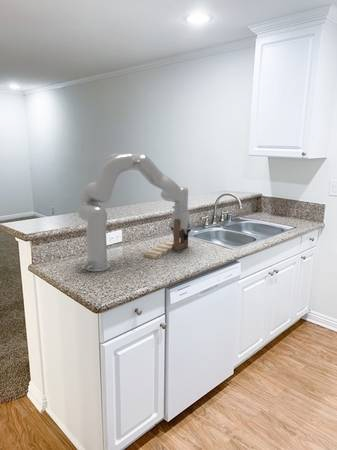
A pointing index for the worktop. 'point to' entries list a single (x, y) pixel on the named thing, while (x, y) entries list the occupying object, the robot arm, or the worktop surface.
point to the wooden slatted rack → (159, 250)
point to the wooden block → (179, 237)
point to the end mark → (179, 250)
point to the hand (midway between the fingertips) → (180, 238)
